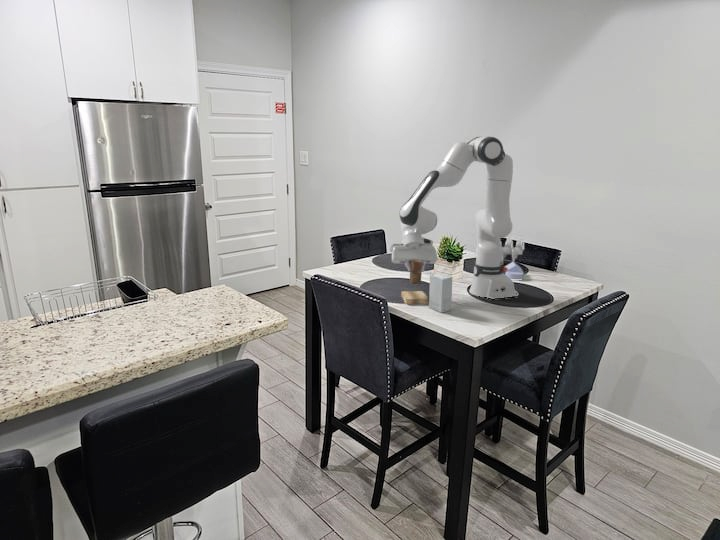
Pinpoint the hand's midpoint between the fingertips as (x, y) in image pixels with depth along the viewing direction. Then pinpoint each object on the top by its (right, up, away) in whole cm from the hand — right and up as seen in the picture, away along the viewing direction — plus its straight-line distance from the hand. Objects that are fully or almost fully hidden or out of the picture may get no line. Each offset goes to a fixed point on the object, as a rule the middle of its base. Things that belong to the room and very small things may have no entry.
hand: (416, 271), depth 209 cm
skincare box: (+9, -16, -5) cm, 19 cm away
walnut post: (0, -5, +2) cm, 5 cm away
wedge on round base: (+56, -3, +45) cm, 72 cm away
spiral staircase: (+54, +3, +67) cm, 86 cm away
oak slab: (0, -13, +5) cm, 14 cm away
